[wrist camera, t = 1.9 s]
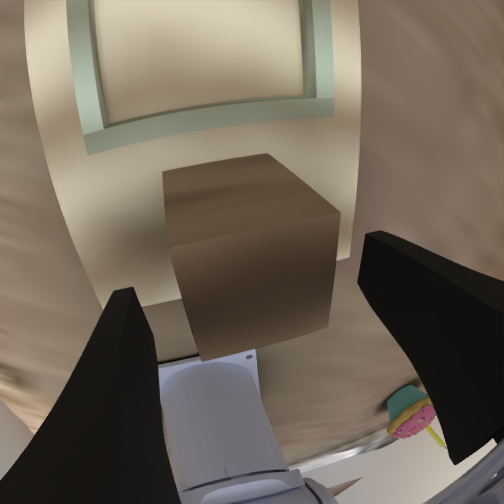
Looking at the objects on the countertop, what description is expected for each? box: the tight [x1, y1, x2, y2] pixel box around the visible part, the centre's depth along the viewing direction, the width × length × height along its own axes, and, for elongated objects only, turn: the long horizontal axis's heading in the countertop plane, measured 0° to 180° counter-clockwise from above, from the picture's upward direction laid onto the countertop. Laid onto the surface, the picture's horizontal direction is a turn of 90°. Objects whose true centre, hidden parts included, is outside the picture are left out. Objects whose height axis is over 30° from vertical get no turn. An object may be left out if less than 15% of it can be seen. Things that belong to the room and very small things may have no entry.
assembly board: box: [24, 0, 361, 310], centre depth 11 cm, size 18×14×2 cm
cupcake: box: [387, 385, 447, 449], centre depth 33 cm, size 9×8×12 cm
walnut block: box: [162, 153, 341, 362], centre depth 11 cm, size 4×4×6 cm
